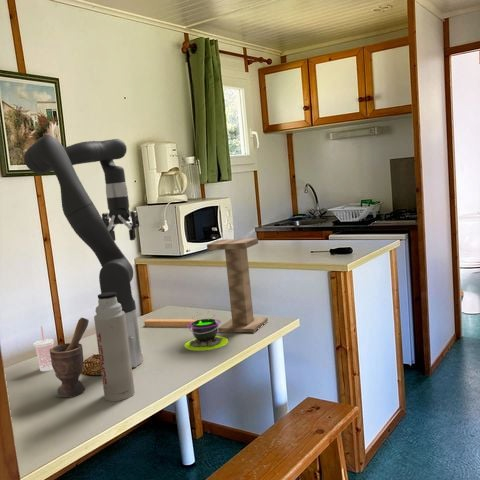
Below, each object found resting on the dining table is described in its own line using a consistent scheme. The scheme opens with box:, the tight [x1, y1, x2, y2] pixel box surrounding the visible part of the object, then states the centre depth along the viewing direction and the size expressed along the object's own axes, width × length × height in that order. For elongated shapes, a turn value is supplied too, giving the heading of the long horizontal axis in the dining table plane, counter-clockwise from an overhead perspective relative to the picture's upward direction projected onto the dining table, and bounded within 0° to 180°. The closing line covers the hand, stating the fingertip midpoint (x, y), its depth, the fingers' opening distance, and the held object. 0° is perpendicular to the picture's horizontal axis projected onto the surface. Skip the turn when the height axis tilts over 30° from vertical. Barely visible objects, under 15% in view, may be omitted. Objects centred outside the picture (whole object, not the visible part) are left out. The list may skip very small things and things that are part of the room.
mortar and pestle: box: [50, 317, 89, 398], centre depth 150 cm, size 12×9×20 cm
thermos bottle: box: [93, 292, 136, 402], centre depth 143 cm, size 8×8×28 cm
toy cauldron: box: [183, 310, 229, 352], centre depth 183 cm, size 15×15×11 cm
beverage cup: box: [33, 326, 55, 372], centre depth 172 cm, size 6×6×14 cm
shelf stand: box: [206, 237, 269, 333], centre depth 197 cm, size 16×14×32 cm
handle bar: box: [143, 318, 199, 328], centre depth 210 cm, size 22×3×2 cm, turn 70°
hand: (122, 240), depth 195 cm, fingers open, 8 cm apart
